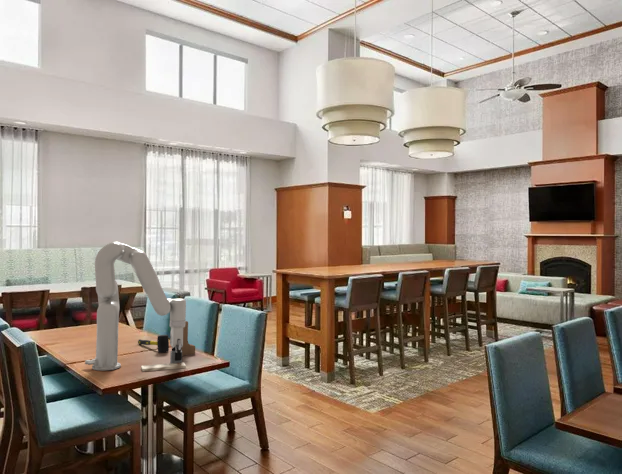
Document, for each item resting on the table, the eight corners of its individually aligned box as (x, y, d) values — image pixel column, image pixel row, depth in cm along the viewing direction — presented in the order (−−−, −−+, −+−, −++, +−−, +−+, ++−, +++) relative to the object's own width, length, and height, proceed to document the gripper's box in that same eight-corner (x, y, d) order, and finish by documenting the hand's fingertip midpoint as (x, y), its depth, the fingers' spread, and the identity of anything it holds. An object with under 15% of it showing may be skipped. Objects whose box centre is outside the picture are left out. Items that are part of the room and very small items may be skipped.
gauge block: (171, 365, 239) (171, 353, 239) (170, 363, 242) (170, 351, 243) (181, 364, 241) (182, 352, 241) (180, 362, 245) (180, 350, 245)
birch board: (142, 371, 226) (142, 368, 226) (141, 368, 231) (141, 365, 231) (186, 367, 234) (186, 365, 234) (183, 364, 240) (183, 362, 240)
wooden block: (192, 352, 266) (193, 319, 266) (195, 354, 262) (196, 320, 263) (176, 354, 261) (177, 320, 261) (179, 356, 257) (180, 322, 257)
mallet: (134, 345, 280) (134, 328, 281) (143, 343, 285) (144, 327, 285) (161, 354, 261) (161, 336, 261) (170, 352, 265) (171, 335, 265)
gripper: (167, 321, 248) (166, 354, 248) (172, 327, 232) (171, 362, 232) (182, 320, 251) (181, 353, 251) (188, 326, 236) (187, 361, 236)
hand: (176, 358), depth 242 cm, fingers open, 9 cm apart
